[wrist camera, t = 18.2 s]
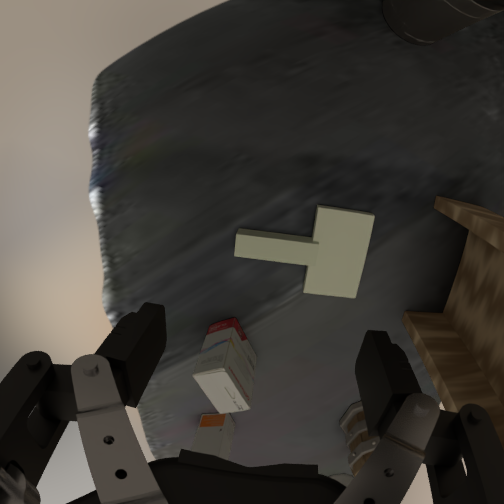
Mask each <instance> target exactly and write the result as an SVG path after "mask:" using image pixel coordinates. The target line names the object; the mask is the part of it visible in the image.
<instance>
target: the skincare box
mask: <svg viewBox="0 0 504 504" xmlns="http://www.w3.org/2000/svg"><path fill="white" fill-rule="evenodd" d="M234 429H235V423H234V421H233V419H232V417H231V415H230V414H229V413H225V414H220V413H213V414H202V415H201V419H200V422H199V425H198V429H197V432H196V435H195V439H194V442H193V445H192V448H191V451H194V452H199V453H204V454H210V455H215V456H217V457H220V458H223V459H225V460H229V454H230V449H231V444H232V439H233V434H234Z"/></svg>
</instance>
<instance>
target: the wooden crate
mask: <svg viewBox="0 0 504 504" xmlns="http://www.w3.org/2000/svg"><path fill="white" fill-rule="evenodd" d="M434 209H436V210H438V211H439V212H441V213H443V214H444V215H446V216H448V217H449V218H451V219H453V220H454V221H456V222H458V223H459V224H461V225H462V226H464V227H465V228H467V229H469V233H468V237H467V240H466V244H465V248H464V251H463V255H462V258H461V261H460V265H459V268H458V271H457V274H456V277H455V280H454V283H453V286H452V289H451V292H450V295H449V297H448V300H447V303H446V305H445V308H444V311H443V313H431V312H415V311H405V312H404V315H403V318H402V322H403V324H404V326H405V328H406V330H407V331H408V333H409V335H410V337H411V339H412V341H413V343H414V345H415V347H416V349H417V351H418V353H419V355H420V357H421V359H422V361H423V363H424V365H425V367H426V369H427V371H428V373H429V375H430V377H431V380H432V382H433V384H434V386H435V388H436V390H437V393H438V395H439V397H440V399H441V401H442V404H443V406H444V408H445V410H446V411H451V412H456V413H458V412H459V410H460V409H461V408H462V406H464V405H465V404H469V403H472V404H477V405H479V406H481V407H483V408H484V409H485V410H486V411H487V413H488V414H489V416H490V419H491V421H492V423H493V425H494V428H495V430H496V432H497V435H498V437H499V439H500V442H501V444H502V447H503V449H504V217H502V216H500V215H498V214H496V213H494V212H492V211H490V210H488V209H486V208H484V207H481V206H477V205H473V204H469V203H465V202H461V201H457V200H453V199H449V198H444V197H440V196H436V199H435V204H434Z"/></svg>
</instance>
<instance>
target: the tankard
mask: <svg viewBox="0 0 504 504" xmlns="http://www.w3.org/2000/svg"><path fill="white" fill-rule="evenodd" d="M340 426H341V428H342V429H343V431H344V432H345V434H346V436H345V438H346V445H347V446H348V448H349V449H350V451H351V454H350V455H349V456H348V461H349V466H350V467H351V470H352V473H353V475H354V477H355V476H356V475H357V473H358V472H359V471H360V469H361V468H362V466H363V465H364V464H365V462H366V461H367V459H368V458H369V457H370V455H371V454H372V452H373V451H374V449H375V448H376V446H377V445H378V443H379V442H380V438H379V436H370V437H369V435H368V430H367V425H366V420H365V416H364V411H363V406H362V402H361V401H360V402H357V403H355V404H352V405H351V406H350V407H349V409H348V410H347V412H346V413H345V414H344V416H343V417H342V418H341V420H340Z"/></svg>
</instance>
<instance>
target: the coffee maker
mask: <svg viewBox="0 0 504 504" xmlns="http://www.w3.org/2000/svg"><path fill="white" fill-rule="evenodd" d="M328 477H330V478H332V479H335V480H337V481H338V482H340V483H342V484H343V485H345V486H346V487H347V486H348V485H349V484H350V482H351V481H352V480H353V476H352V475H349V474H345V473H342V474H335V475H330V476H328Z"/></svg>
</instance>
